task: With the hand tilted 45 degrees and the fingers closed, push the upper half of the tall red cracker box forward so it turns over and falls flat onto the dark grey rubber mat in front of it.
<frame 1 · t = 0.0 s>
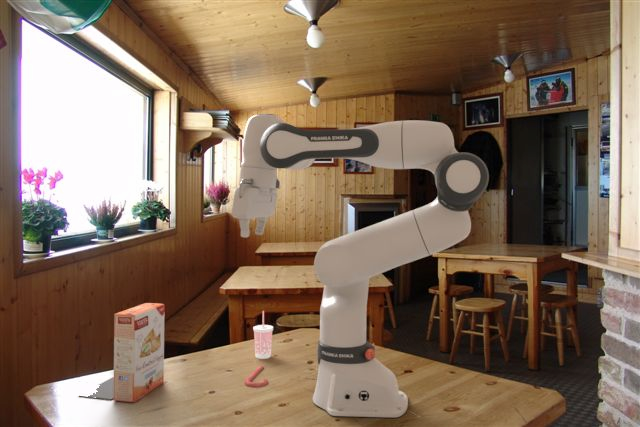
hand: (252, 235, 124), 39 cm above the table, tool pointing down, fingers open, 8 cm apart
candy cane: (258, 379, 135), on the table
beverage cup: (263, 357, 153), on the table
rubber mat: (112, 388, 126), on the table
cracker box: (140, 392, 124), on the table
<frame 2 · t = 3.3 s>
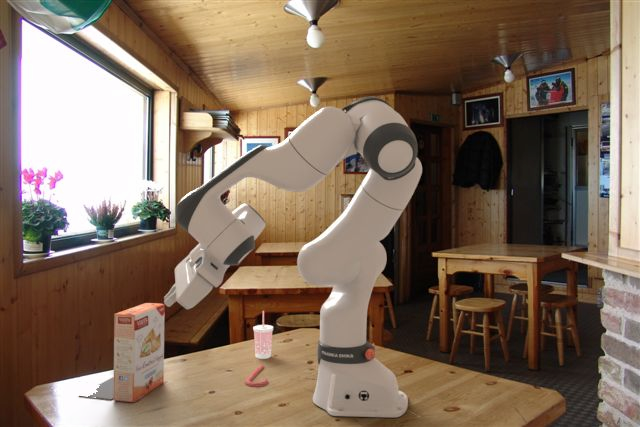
hand: (166, 302, 117), 24 cm above the table, tool tilted 45°, fingers closed
nothing on the table moved.
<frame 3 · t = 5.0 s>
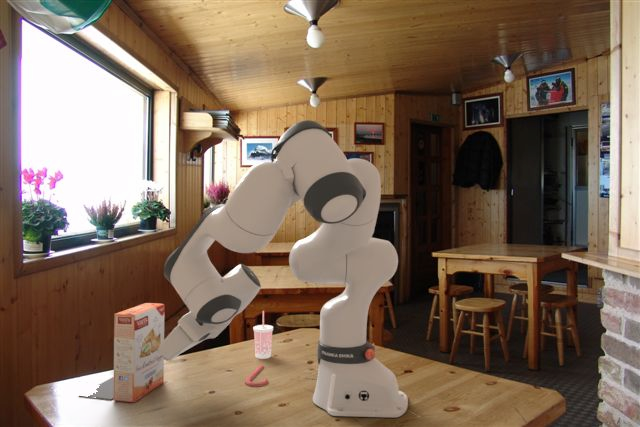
hand: (170, 357, 121), 9 cm above the table, tool tilted 45°, fingers closed
nothing on the table moved.
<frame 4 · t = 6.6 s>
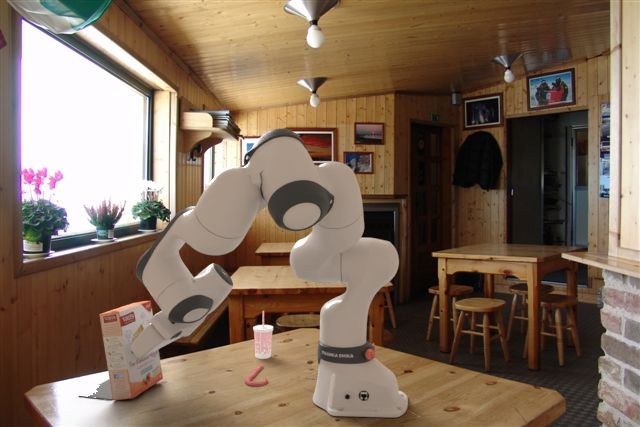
hand: (144, 354, 123), 9 cm above the table, tool tilted 45°, fingers closed
cracker box: (140, 390, 124), on the table, touching gripper
everything else where it was.
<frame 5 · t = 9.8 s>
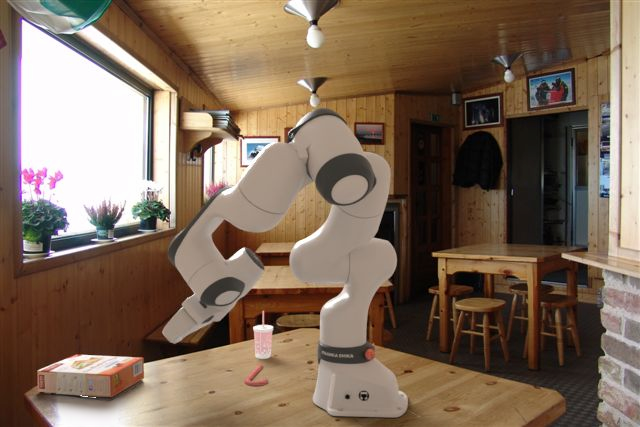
hand: (175, 340, 122), 13 cm above the table, tool tilted 45°, fingers closed
cracker box: (130, 375, 125), point 4 cm above the table, touching rubber mat
everything else where it was.
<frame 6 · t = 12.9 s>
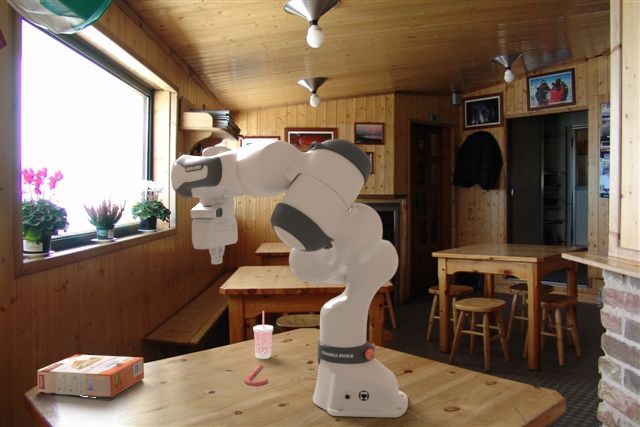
hand: (216, 263, 130), 31 cm above the table, tool pointing down, fingers closed
at the end: cracker box tilted 93°; cracker box inside the target area (10.2 cm from its centre), point 3.7 cm above the table; cracker box moved 4.7 cm from its start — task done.
